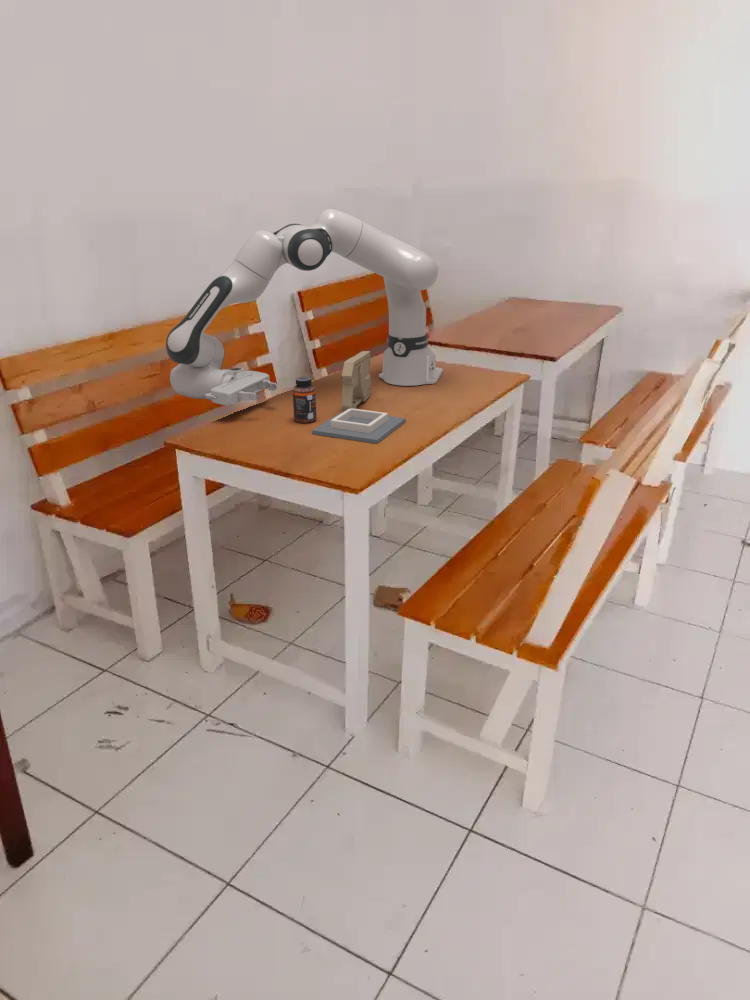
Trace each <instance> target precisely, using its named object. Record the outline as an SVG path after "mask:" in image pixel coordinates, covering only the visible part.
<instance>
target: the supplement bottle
mask: <svg viewBox="0 0 750 1000" xmlns="http://www.w3.org/2000/svg"><path fill="white" fill-rule="evenodd" d="M295 384H296V385H295V386H293V388H292V403H293V404H292V406H293V408H292V409H293V419H294V421H295V422H297V423H300V424H303V423H304V424H306V423H309V424H310V423H313V422H315V421H316V420H317V415H318V414H317V400H316V399H317V397H316V396H317V395H316V394H317V393H316V387H315V386H314V385H313V384H312V378H311V377H310V376H300V377H299V376H298V377H297V378H295Z"/></svg>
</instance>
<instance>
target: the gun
mask: <svg viewBox="0 0 750 1000" xmlns="http://www.w3.org/2000/svg"><path fill="white" fill-rule="evenodd" d="M370 366H371V351H370V350H362V351H360V352H358V353H357V354H355V355H354V356H352V357H351V356H350V358H348V359H347V360H345V361H344V363H343V367H342V372H341V378H342V390H341V391H342V392H341V412H342V413H343V412H345V411H346V410H348V409H349V408H353V409H358V406H359V405H360V404H362V403H363V404H364V403H365V402H366V401H367V400H368V399H369V398H370V396H372V388H371V386H372V385H371V384H372V383H371V382H372V381H371V378H372V377H371V374H370Z"/></svg>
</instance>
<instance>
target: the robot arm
mask: <svg viewBox="0 0 750 1000" xmlns="http://www.w3.org/2000/svg"><path fill="white" fill-rule="evenodd" d="M332 252H333V253H334V254H336V255H339V256H341V257H342V258H344V259H347V260H349V261H350V262H352V263H353V264H357V265H358V266H360V267H362V268H364V269H366V270H368V271H369V272H372V273H374V274H376V275H379V276H381V277H383V282H384V288H385V293H386V299H387V306H388V334H387V339H386V341H387V342H386V343H387V349H386V350H384V351H383V361H382V372H381V373H378V378H379V379H382V380H383V381H384V382H385V383H387V384H390V385H394V386H405V387H407V386H408V387H409V386H411V387H412V386H413V387H414V386H420V385H421V386H422V385H430V384H431V385H432V384H436V383H437V382H438V380H439V379H440V377H441V375H442V374H443V372H444V371H443V368H441V367H439V366H437V365H436V362H437V361H436V360H437V358H436V356H437V355H436V354H435V352H434V351H433V350H432V349H431V348H430V346H429V339H430V338H431V333H430V331H429V332H428V331H427V307H426V305H425V302H424V299H423V296H422V291H425V290H427V289H429V288H431V287H433V285H434V284H435V283H436V281H437V279H438V274H439V269H438V268H439V267H438V265H437V263H436V261H435V259H433V258H432V257H431V256H430V255H429V254H428V253H426V252H425V251H422V250H421V249H419V248H417V247H415V246H413V245H411V244H409V243H407V242H405V241H402V240H401V239H399V238H397V237H394V236H392V235H390V234H388V233H385V232H384V231H382V230H380V229H378V228H377V227H375V226H373V225H371V224H369V223H368V222H365V221H364V220H362V219H360V218H358V217H356V216H355V215H352V214H350V213H347V212H345V211H342V210H338V209H335V208H326V209H324V210H323V211H321V212H320V213H319V215H318V216H317V218H316V220H315V221H314V223H313V224H311V225H310V226H309V225H303V224H300V223H290V224H289V223H288V224H286V225H285V226H282V227H281V228H280V229H278V230H276V231H274V232H270V231H268V230H265V229H264V230H262V229H259V230H256V231H254V232H253V233H252V234H251V235H250V237H248V238H247V240H246V241H245V242H244V243H243V245H242V246H241V248H240V249H239V251H238V252H237V254H236V255H235V257H234V259H233V260H232V262H231V264H230V265H229V266H228V268H227V269H226V270H225V271H224V272H223V273H222V274H221V275H220V276H218V277H217V278H215V279H214V280H213V281H211V283H210V284H209V285H208V286H207V287H206V289H205V290H204V291H203V292H202V294H201V295H200V296H199V298H198V299H197V300H196V301H195V303H194V304H193V306H192V307H191V308H190V310H189V311H188V312H187V313H186V315H185V316H184V318H183V319H182V320H181V321H179V323H177V324H176V325H175V326H174V327H173V328H172V329H171V330H170V331H169V333H168V334H167V336H166V341H165V349H166V354H167V355H168V357H169V359H170V360H171V361H173V362H174V363H176V364H177V365H176V366H174V368H172V369H171V371H170V374H169V376H170V377H169V380H170V381H169V382H170V385H171V388H172V389H173V391H175V392H176V393H177V394H179V395H180V396H183V397H186V398H190V399H191V398H192V399H196V400H202V399H206V400H208V401H211V403H215V404H217V405H222V406H233V405H235V404H238V403H240V402H242V401H250V400H251V401H255V400H258V399H259V393H260V392H262V391H264V390H267V389H268V390H269V391H276V390H278V384H277V383H276V382H272V381H271V380H270V379H271V378H270V374H268V373H266V372H261V371H256V370H255V371H254V370H245V368H244V367H235V368H229V369H226V368H223V369H222V367H223V363H224V360H225V355H226V354H225V351H226V350H225V346H224V344H223V342H222V341H221V340H220V339H218V338H217V337H214V336H213V335H210V334H208V333H205V331H206V330H207V328H208V327H209V326H210V324H211V323H212V321H213V320H214V319H215V318H216V316H217V315H218V314H219V312H220V311H221V310H223V309H224V308H225V307H227V306H230V305H234V304H241V303H242V304H244V303H251V302H253V301H254V302H255V301H256V300H257V299H258V298H260V297H261V295H262V294H263V293H264V292H265V291H266V289H267V287H268V286H269V284H270V282H271V281H272V278H273V277H274V275H275V274H276V272H277V271H278V270H279V268H281V267H282V266H283V265H285V264H289V265H290V266H292V267H294V268H296V269H298V270H300V271H305V272H310V271H313V270H317V269H318V268H319V267H321V266H322V265H323V264H324V262H325V261H326V258H327V257H329V256H330V254H331V253H332Z"/></svg>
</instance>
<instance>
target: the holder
mask: <svg viewBox="0 0 750 1000" xmlns="http://www.w3.org/2000/svg"><path fill="white" fill-rule="evenodd" d="M406 420H407V419H406V418H405V417H401V416H400V417H398V416H391V415H389V413H388V412H381V411H374V410H367V409H359V408H357V409H353V408H349V409H348V410H346V411H345V412H343V413H342V411H340V412H339V413H337V414H336V415H334V416H333V417H331V418H329V419H327V420H326V421H325V422H323V423H321V424H319V425H318V426H316V427H315V428H314V429H312V430H311V435H316V436H323V437H329V438H337V439H343V440H348V441H349V440H350V441H355V442H357V441H358V442H361V443H363V442H364V443H369V444H370V443H371V444H377V445H378V444H379V443H381V442H382V441H383V440H384V439H385V438H386V437H388V436H390V435H391V434H392V433H394V432H395V431H396V430H397V429H399V428H400V427H401V426H402V425H403V424H405V423H406Z"/></svg>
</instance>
